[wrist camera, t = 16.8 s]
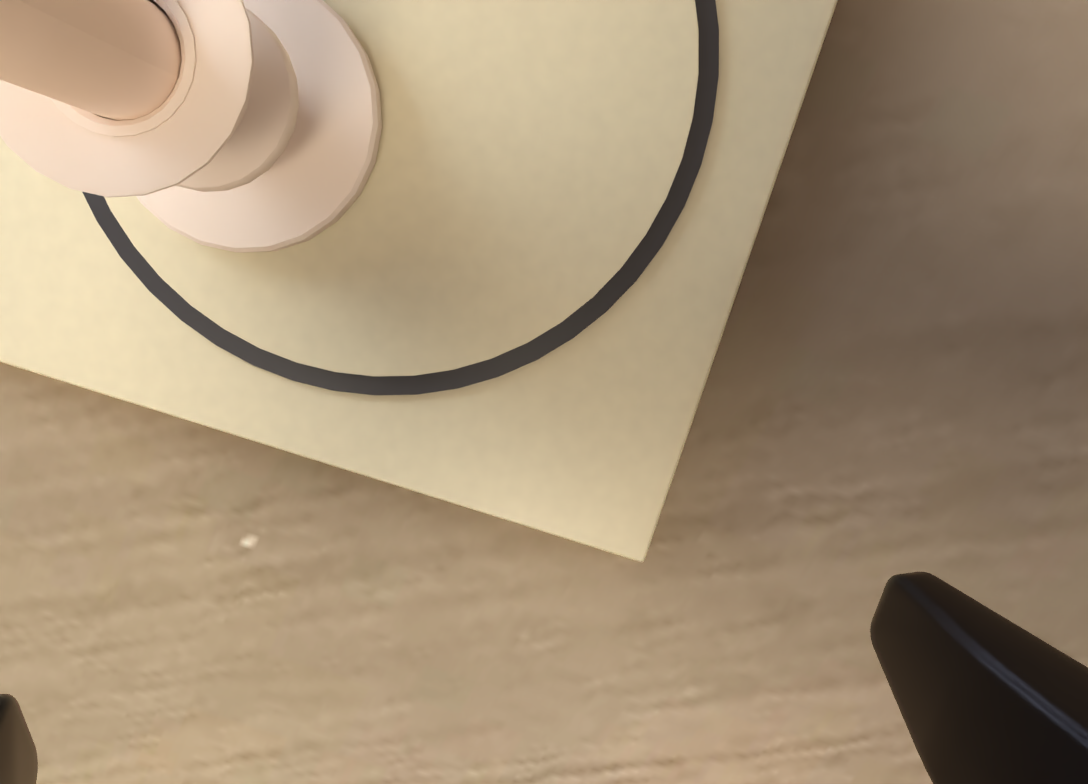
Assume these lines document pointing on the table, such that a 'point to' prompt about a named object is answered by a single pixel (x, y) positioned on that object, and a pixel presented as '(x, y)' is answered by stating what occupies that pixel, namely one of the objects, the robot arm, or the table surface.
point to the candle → (195, 110)
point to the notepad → (460, 261)
